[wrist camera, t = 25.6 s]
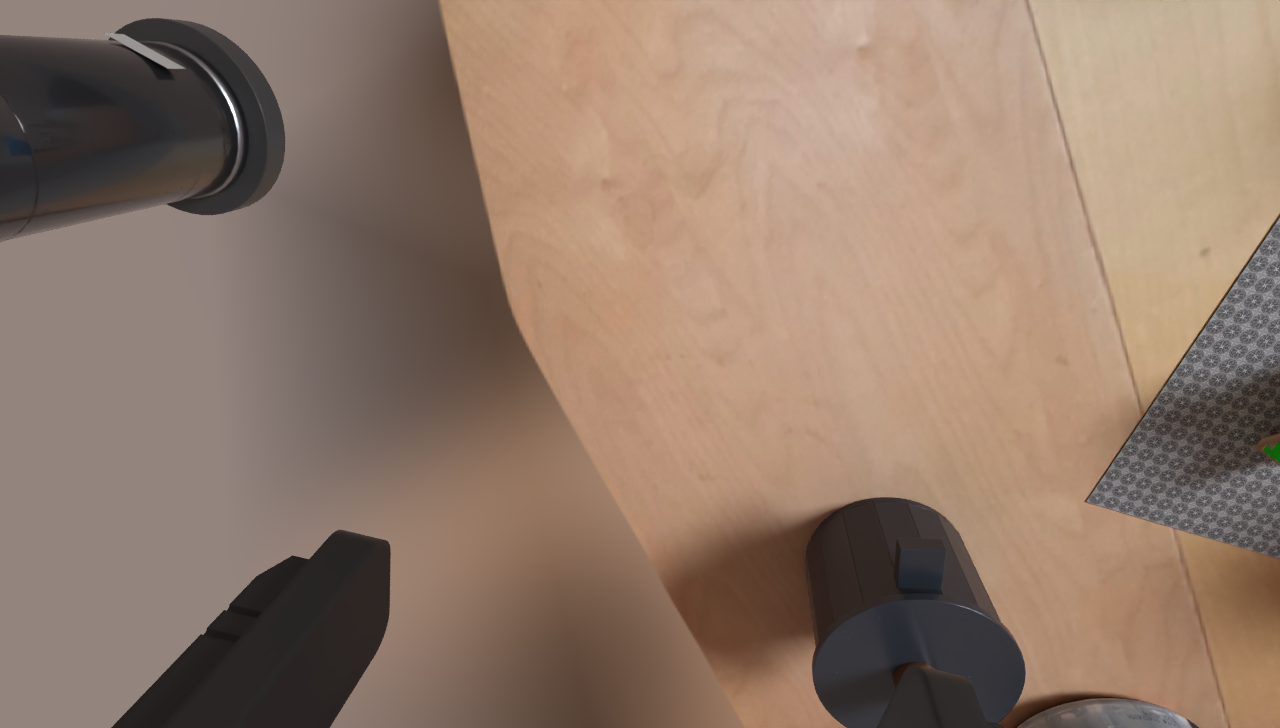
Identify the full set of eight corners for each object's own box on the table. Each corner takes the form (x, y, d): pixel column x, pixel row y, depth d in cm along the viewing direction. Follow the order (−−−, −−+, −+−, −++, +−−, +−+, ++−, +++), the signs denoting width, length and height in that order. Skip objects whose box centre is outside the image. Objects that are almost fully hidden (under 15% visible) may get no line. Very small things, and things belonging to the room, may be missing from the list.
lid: (809, 724, 42) (824, 862, 35) (812, 581, 38) (829, 706, 30) (1004, 735, 41) (1063, 884, 33) (1031, 587, 36) (1107, 721, 29)
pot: (804, 642, 51) (817, 757, 43) (807, 463, 45) (822, 555, 36) (952, 648, 50) (997, 769, 41) (976, 463, 43) (1035, 560, 35)
